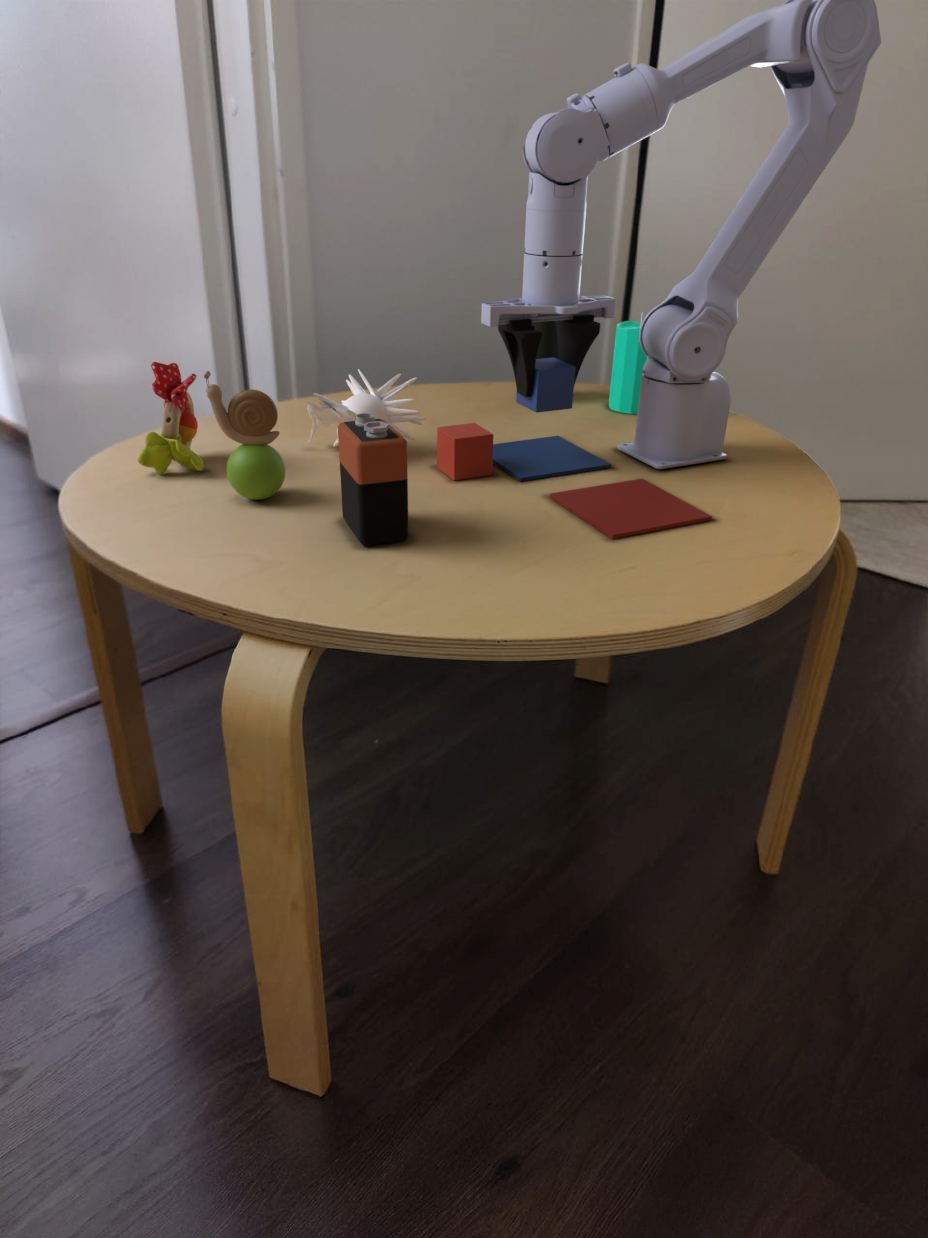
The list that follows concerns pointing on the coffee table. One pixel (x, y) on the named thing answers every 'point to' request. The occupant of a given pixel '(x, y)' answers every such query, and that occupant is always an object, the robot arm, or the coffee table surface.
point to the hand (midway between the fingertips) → (544, 392)
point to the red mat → (629, 508)
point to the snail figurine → (250, 441)
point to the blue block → (550, 386)
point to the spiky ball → (365, 407)
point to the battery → (373, 480)
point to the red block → (464, 451)
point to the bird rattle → (172, 422)
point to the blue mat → (544, 458)
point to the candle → (627, 368)
